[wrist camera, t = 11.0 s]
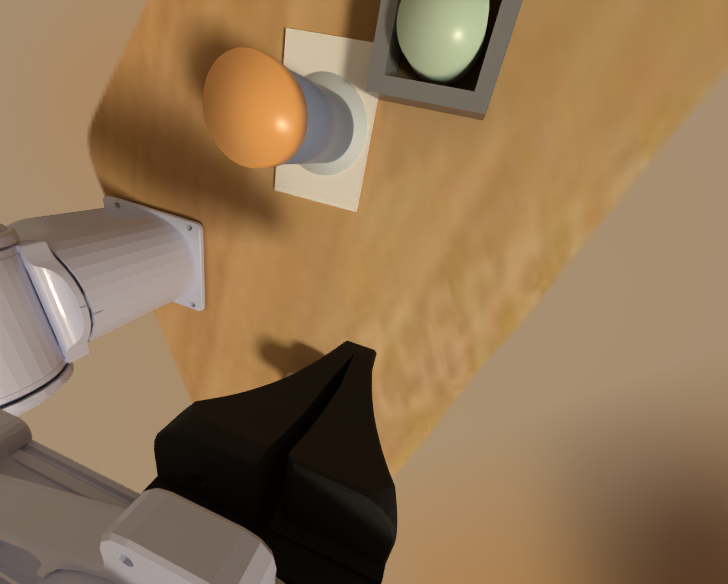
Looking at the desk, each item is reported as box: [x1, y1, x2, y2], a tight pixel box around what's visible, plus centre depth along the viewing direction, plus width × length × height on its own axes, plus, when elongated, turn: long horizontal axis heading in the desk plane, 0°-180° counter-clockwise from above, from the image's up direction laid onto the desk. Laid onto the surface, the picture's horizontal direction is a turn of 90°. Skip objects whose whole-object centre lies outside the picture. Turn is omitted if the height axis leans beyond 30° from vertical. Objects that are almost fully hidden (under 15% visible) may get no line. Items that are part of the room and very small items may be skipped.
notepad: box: [275, 28, 378, 212], centre depth 19 cm, size 6×9×1 cm, turn 168°
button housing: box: [365, 0, 523, 120], centre depth 15 cm, size 6×6×3 cm
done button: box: [397, 0, 489, 85], centre depth 15 cm, size 4×4×3 cm
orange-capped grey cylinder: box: [203, 47, 354, 168], centre depth 16 cm, size 4×4×8 cm
